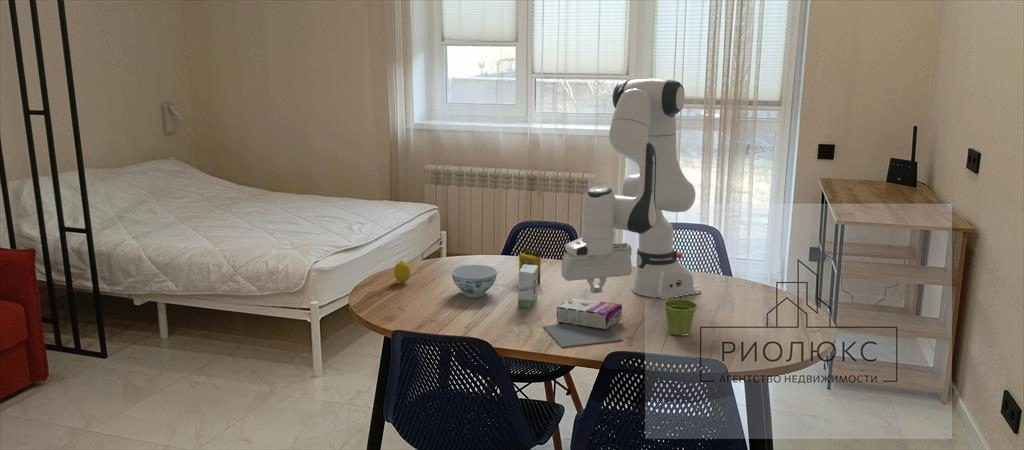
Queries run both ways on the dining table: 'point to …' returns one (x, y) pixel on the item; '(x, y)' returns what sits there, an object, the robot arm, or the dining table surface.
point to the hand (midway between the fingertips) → (596, 292)
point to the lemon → (402, 271)
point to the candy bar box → (589, 313)
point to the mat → (580, 335)
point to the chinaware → (474, 279)
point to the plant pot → (679, 315)
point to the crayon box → (530, 260)
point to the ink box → (528, 286)
